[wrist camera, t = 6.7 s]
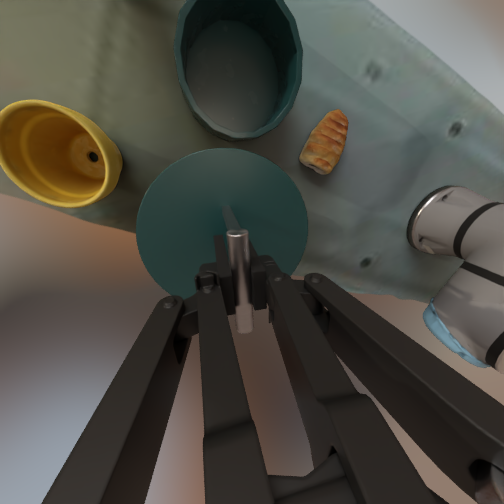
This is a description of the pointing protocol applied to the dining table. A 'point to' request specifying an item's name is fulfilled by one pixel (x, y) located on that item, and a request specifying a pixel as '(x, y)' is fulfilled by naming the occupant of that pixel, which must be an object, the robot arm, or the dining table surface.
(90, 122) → the flower pot
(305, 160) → the pastry
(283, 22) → the pot
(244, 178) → the lid
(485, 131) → the dining table surface
